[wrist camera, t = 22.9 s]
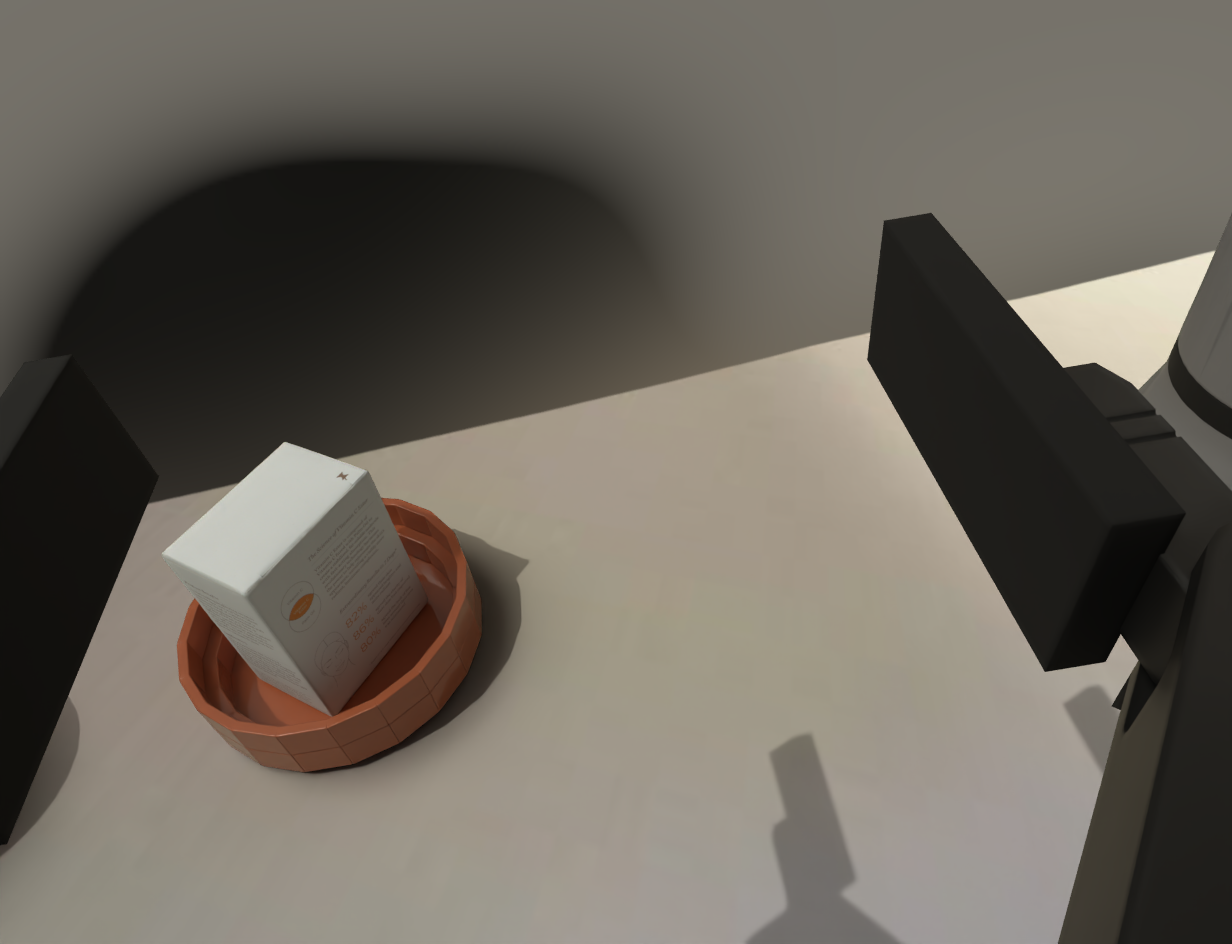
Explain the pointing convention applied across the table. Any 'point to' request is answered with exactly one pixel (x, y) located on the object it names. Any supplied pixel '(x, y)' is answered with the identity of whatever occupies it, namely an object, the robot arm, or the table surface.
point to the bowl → (387, 698)
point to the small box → (302, 575)
